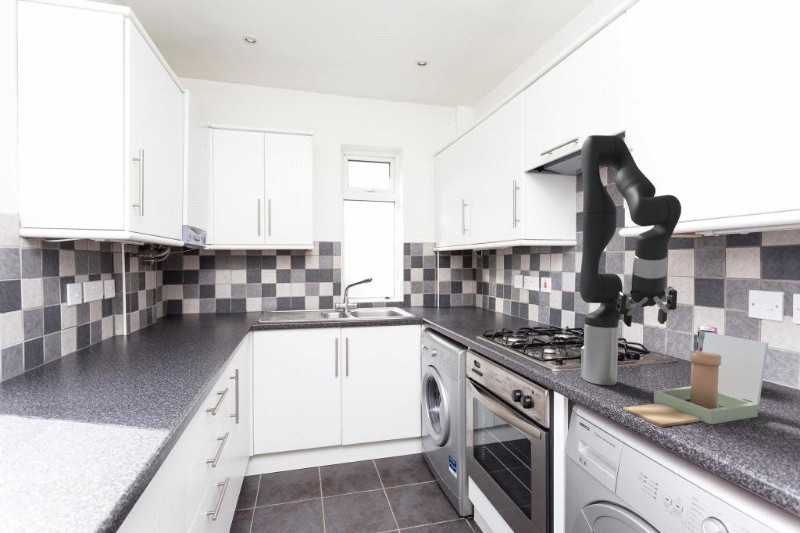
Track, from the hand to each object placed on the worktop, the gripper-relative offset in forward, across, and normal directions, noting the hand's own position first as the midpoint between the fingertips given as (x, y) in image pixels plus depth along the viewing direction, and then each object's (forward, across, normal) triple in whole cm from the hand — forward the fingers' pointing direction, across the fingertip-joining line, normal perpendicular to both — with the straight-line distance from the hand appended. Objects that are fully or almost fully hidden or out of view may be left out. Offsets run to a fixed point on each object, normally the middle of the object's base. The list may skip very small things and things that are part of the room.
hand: (644, 324), depth 107 cm
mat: (+12, +5, +22) cm, 25 cm away
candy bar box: (+28, -24, -8) cm, 37 cm away
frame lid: (+16, -16, +12) cm, 26 cm away
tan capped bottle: (+16, -8, +16) cm, 24 cm away
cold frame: (+16, -8, +16) cm, 24 cm away
